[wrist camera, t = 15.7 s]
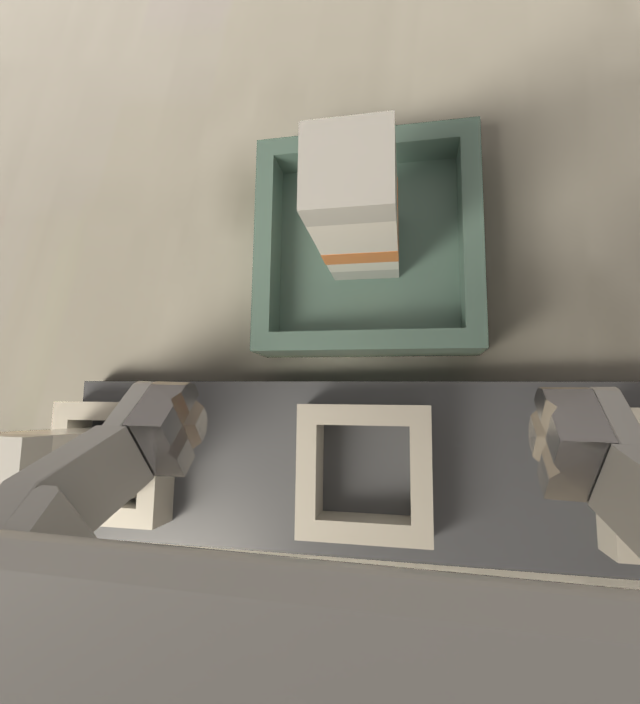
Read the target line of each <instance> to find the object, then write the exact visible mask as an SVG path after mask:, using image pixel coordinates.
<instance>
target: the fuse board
mask: <svg viewBox="0 0 640 704" xmlns="http://www.w3.org/2000/svg"><path fill="white" fill-rule="evenodd" d="M136 382H138V381H85V383H84V396H83V402H71V401H54V402H53V413H52V424H51V429H68V428H87V427H94V426H96V425H102V424H103V423H104V422H105V420H106V419H107V418H108V416H109V415H110V414H111V412H112V411H113V410H114V408H115V407H116V406H117V404H118V403H119V402H120V400H121V399H122V398H123V396H124V395H125V394H126V392H127V391H128V390H129V388H130V387H131V386H132V384H133V383H136ZM153 382H155V381H153ZM164 382H190V383H193V384H195V386H196V388H197V390H198V393H199V395H198V397H197V399H196V401H198V402H199V403H200V404H201V405H203V406H204V408H205V411H206V413H207V420H208V424H207V431H206V435H205V437H204V439H203V441H202V443H200V444H199V445H198V446H196V447H195V448H194V449H193V450H194V453H195V458H194V460H193V462H192V464H191V466H190V468H189V470H188V472H187V474H186V476H185V477H166V476H154V479H153V480H151V481H150V482H149V483H148V484H147V485H146V486H145V487H144V488H142V489H141V490H140V491H139V492H138V493H137V497H135V498H132V499H130V500H129V501H128V502H127V503H126V504H125V505H123V506H122V507H121V508H120V509H119V510H118V511H117V512H116V513H114V514H113V515H112V516H111V517H110V518H109V519H108V520H107V521H105V522H104V523H103V524H102V525H101V526H100V527H99V528H98V529H97V530H95V531H94V532H93V533H94V534H95V535H96V537H97V538H99V539H110V540H121V541H134V542H147V543H160V544H173V545H186V546H199V547H212V548H225V549H238V550H251V551H264V552H277V553H290V554H303V555H316V556H329V557H342V558H355V559H368V560H381V561H394V562H407V563H420V564H433V565H446V566H459V567H472V568H485V569H498V570H511V571H524V572H537V573H551V574H564V575H577V576H590V577H603V578H616V579H629V580H640V558H639V557H638V556H637V555H636V554H635V553H634V552H633V551H632V550H631V549H630V548H629V547H628V546H627V545H626V544H625V543H624V542H623V541H622V540H621V539H620V538H619V537H618V536H617V535H616V533H615V532H614V531H613V530H612V529H611V528H610V527H609V526H608V525H607V524H606V523H605V522H604V521H603V520H602V519H601V518H600V517H599V516H598V515H597V514H596V513H595V512H594V511H593V510H592V509H591V507H590V506H589V505H588V503H587V502H575V501H564V500H552V499H544V498H543V494H542V490H541V487H540V483H539V480H538V476H537V469H538V465H539V462H538V461H537V460H536V459H535V458H534V457H532V454H531V450H530V445H529V438H528V432H529V421H530V415H531V414H532V413H534V412H535V411H536V410H537V409H536V406H535V403H534V397H535V393H536V391H537V389H538V387H588V388H589V387H617V388H618V389H620V390H621V392H622V394H623V396H624V398H625V399H626V401H627V403H628V405H629V406H630V408H631V410H632V412H633V414H634V415H635V417H636V419H637V421H638V423H639V424H640V382H364V381H164Z"/></svg>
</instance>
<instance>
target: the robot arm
mask: <svg viewBox="0 0 640 704" xmlns="http://www.w3.org/2000/svg"><path fill="white" fill-rule="evenodd" d="M198 395H199V393H198V390H197V388H196V386H195V384H193V383H190V382H164V381H155V382H153V381H138V382H136V383H133V384H132V386H131V387H130V388H129V390H128V391H127V392H126V394H125V395H124V396H123V398H122V399H121V400H120V402H119V403H118V404H117V406H116V407H115V408H114V410H113V411H112V412H111V414H110V415H109V416H108V418H107V419H106V420H105V422H104V423H103V424H102V425H96V426H94V427H93V428H91V429H89V430H88V431H86V432H84V433H83V434H81V435H79V436H78V437H76V438H74V439H73V440H71V441H69V442H68V443H66V444H64V445H63V446H61V447H59V448H57V449H56V450H54V451H52V452H51V453H49V454H47V455H46V456H44V457H42V458H41V459H39V460H37V461H36V462H34V463H32V464H31V465H29V466H27V467H26V468H24V469H22V470H21V471H19V472H17V473H16V474H14V475H12V476H11V477H9V478H7V479H6V480H4V481H3V482H2V483H1V484H0V704H640V590H635V589H624V588H614V587H603V586H593V585H582V584H572V583H561V582H551V581H541V580H530V579H520V578H509V577H499V576H488V575H477V574H467V573H456V572H446V571H435V570H424V569H414V568H403V567H393V566H382V565H371V564H361V563H350V562H340V561H329V560H319V559H308V558H298V557H288V556H277V555H267V554H256V553H246V552H235V551H225V550H215V549H204V548H194V547H183V546H173V545H162V544H152V543H141V542H131V541H120V540H110V539H99V538H97V537H96V535H95V534H94V533H93V532H94V531H95V530H97V529H98V528H99V527H100V526H101V525H102V524H103V523H104V522H105V521H107V520H108V519H109V518H110V517H111V516H112V515H113V514H114V513H116V512H117V511H118V510H119V509H120V508H121V507H122V506H123V505H125V504H126V503H127V502H128V501H129V500H130V499H131V498H132V497H134V496H135V495H136V494H137V493H138V492H139V491H140V490H141V489H142V488H144V487H145V486H146V485H147V484H148V483H149V482H150V481H151V480H153V479H154V476H166V477H185V476H186V474H187V472H188V470H189V468H190V466H191V464H192V462H193V460H194V458H195V453H194V450H193V449H194V448H195V447H196V446H198V445H199V444H200V443H202V441H203V439H204V437H205V435H206V431H207V424H208V420H207V413H206V411H205V408H204V406H203V405H201V404H200V403H199V402H198V401H196V399H197V397H198ZM534 403H535V406H536V409H537V410H536V411H535V412H534V413H532V414H531V415H530V421H529V432H528V438H529V445H530V450H531V454H532V457H534V458H535V459H536V460H537V461H538V462H539V465H538V469H537V476H538V480H539V483H540V487H541V490H542V494H543V498H544V499H552V500H564V501H575V502H587V503H588V505H589V506H590V507H591V509H592V510H593V511H594V512H595V513H596V514H597V515H598V516H599V517H600V518H601V519H602V520H603V521H604V522H605V523H606V524H607V525H608V526H609V527H610V528H611V529H612V530H613V531H614V532H615V533H616V535H617V536H618V537H619V538H620V539H621V540H622V541H623V542H624V543H625V544H626V545H627V546H628V547H629V548H630V549H631V550H632V551H633V552H634V553H635V554H636V555H637V556H638V557H639V558H640V424H639V423H638V421H637V419H636V417H635V415H634V414H633V412H632V410H631V408H630V406H629V405H628V403H627V401H626V399H625V398H624V396H623V394H622V392H621V390H620V389H618V388H617V387H589V388H588V387H538V389H537V391H536V393H535V397H534Z"/></svg>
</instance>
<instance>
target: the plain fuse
mask: <svg viewBox="0 0 640 704" xmlns="http://www.w3.org/2000/svg"><path fill="white" fill-rule="evenodd" d="M91 428H93V427H87V428H68V429H48V430H29V431H10V432H0V484H1V483H2V482H3V481H4V480H6V479H7V478H9V477H11V476H12V475H14V474H16V473H17V472H19V471H21V470H22V469H24V468H26V467H27V466H29V465H31V464H32V463H34V462H36V461H37V460H39V459H41V458H42V457H44V456H46V455H47V454H49V453H51V452H52V451H54V450H56V449H57V448H59V447H61V446H63V445H64V444H66V443H68V442H69V441H71V440H73V439H74V438H76V437H78V436H79V435H81V434H83V433H84V432H86V431H88V430H89V429H91ZM135 497H137V494H136V495H135V496H134V497H132V498H135ZM132 498H131V499H132Z"/></svg>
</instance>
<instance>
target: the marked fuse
mask: <svg viewBox="0 0 640 704" xmlns="http://www.w3.org/2000/svg"><path fill="white" fill-rule="evenodd" d="M297 212H298V214H299V216H300V218H301V219H302V221H303V223H304V225H305V227H306V229H307V230H308V232H309V234H310V236H311V238H312V239H313V241H314V243H315V245H316V247H317V249H318V250H319V252H320V254H321V257H322V259H323V261H324V263H325V264H326V265H327V267H328V269H329V271H330V272H331V274H332V276H333V278H334V280H357V279H381V278H399V211H398V177H397V159H396V133H395V110H390V111H381V112H372V113H363V114H355V115H346V116H337V117H328V118H319V119H310V120H301V121H299V132H298V177H297Z"/></svg>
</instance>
